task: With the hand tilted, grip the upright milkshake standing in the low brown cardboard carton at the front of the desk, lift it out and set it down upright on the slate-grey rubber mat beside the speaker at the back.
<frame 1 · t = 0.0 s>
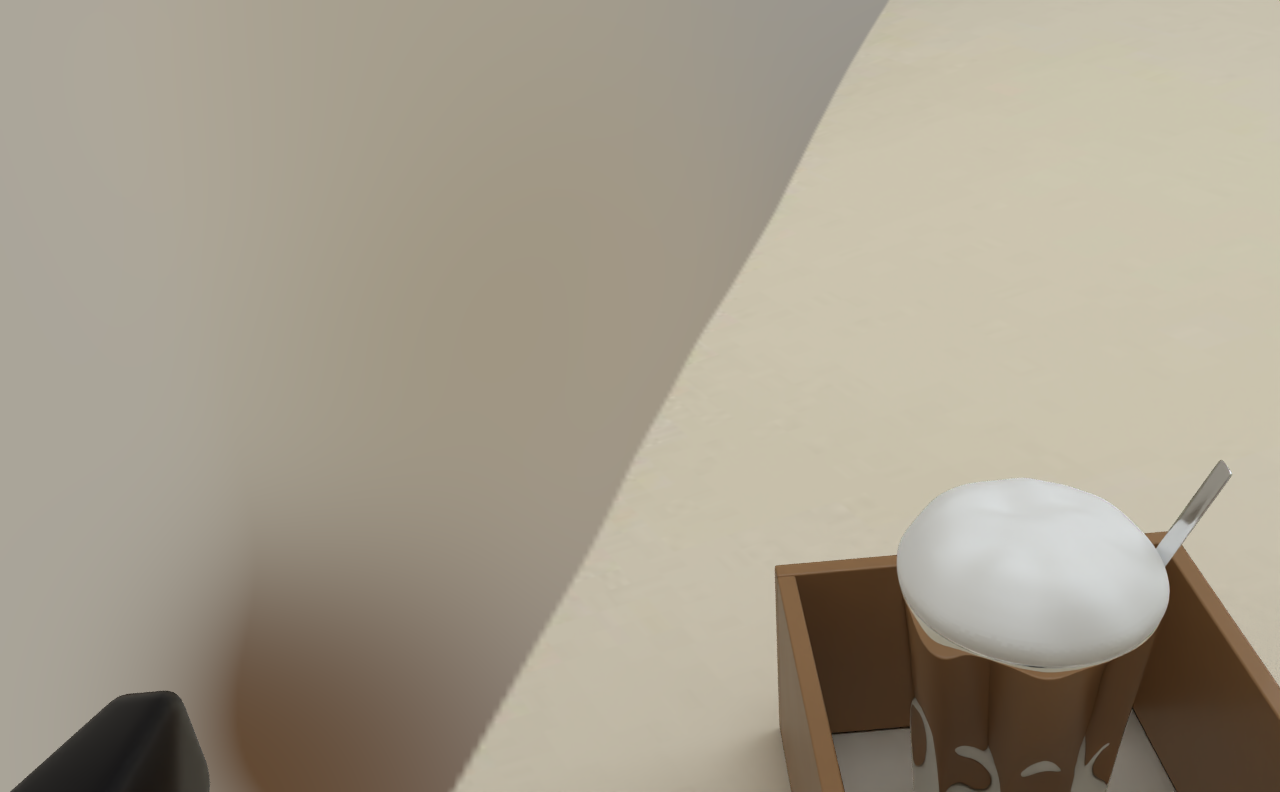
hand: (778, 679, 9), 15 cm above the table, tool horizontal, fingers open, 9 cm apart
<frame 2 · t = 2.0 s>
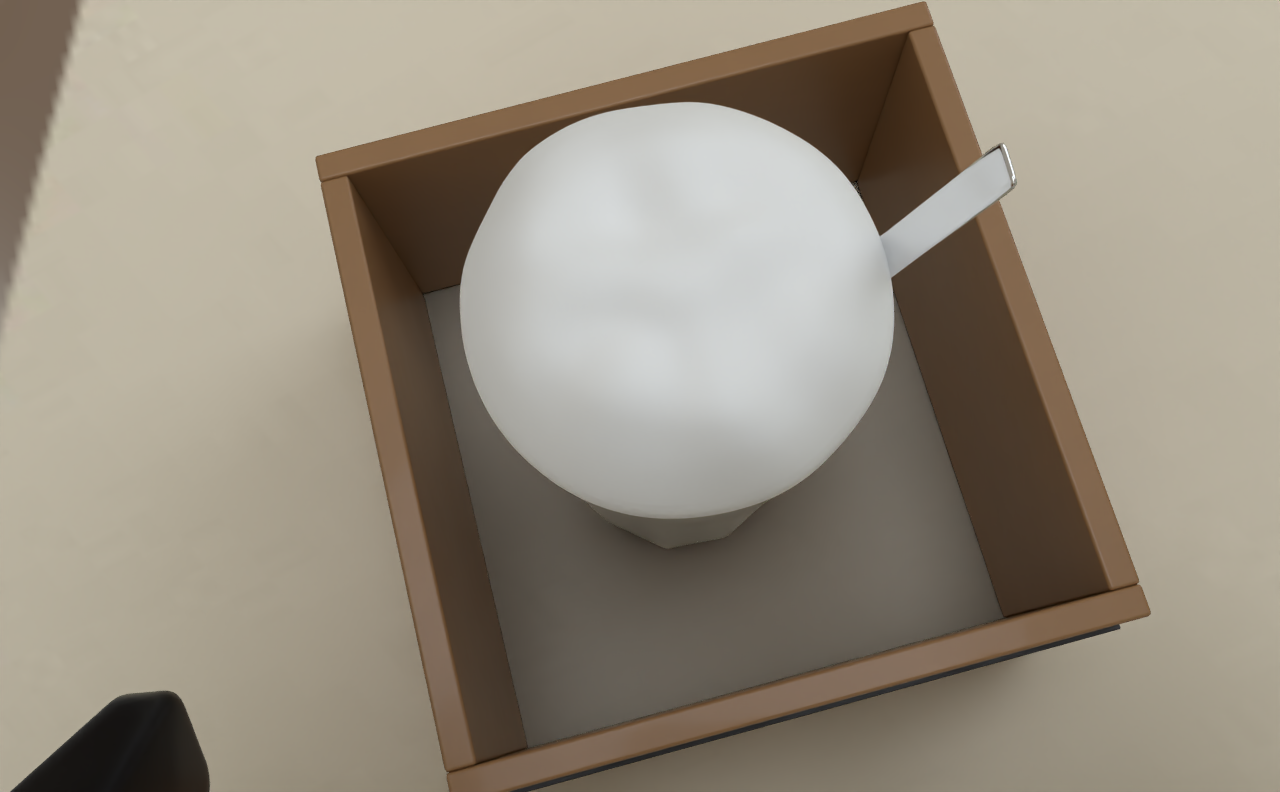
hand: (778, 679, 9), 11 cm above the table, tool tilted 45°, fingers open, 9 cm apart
milkshake: (701, 451, 20), resting in carton
carton: (701, 449, 20), on the table
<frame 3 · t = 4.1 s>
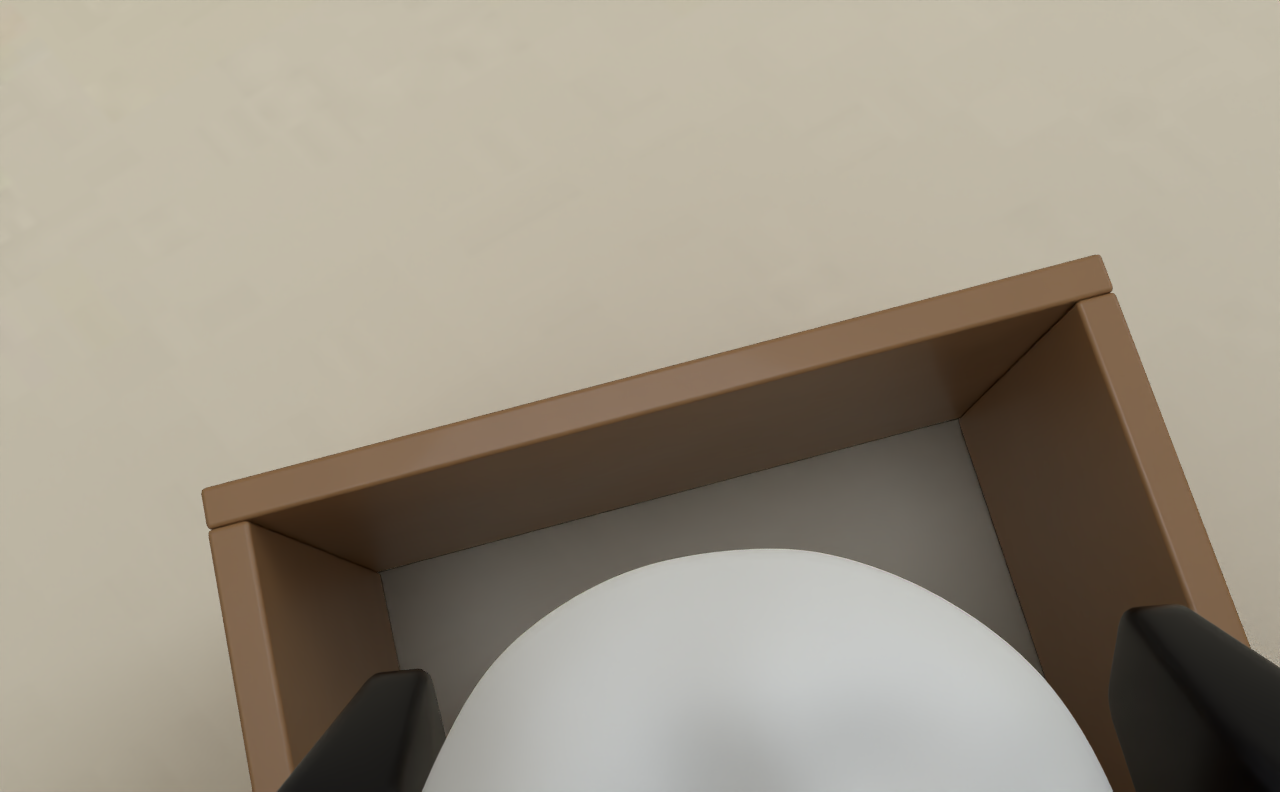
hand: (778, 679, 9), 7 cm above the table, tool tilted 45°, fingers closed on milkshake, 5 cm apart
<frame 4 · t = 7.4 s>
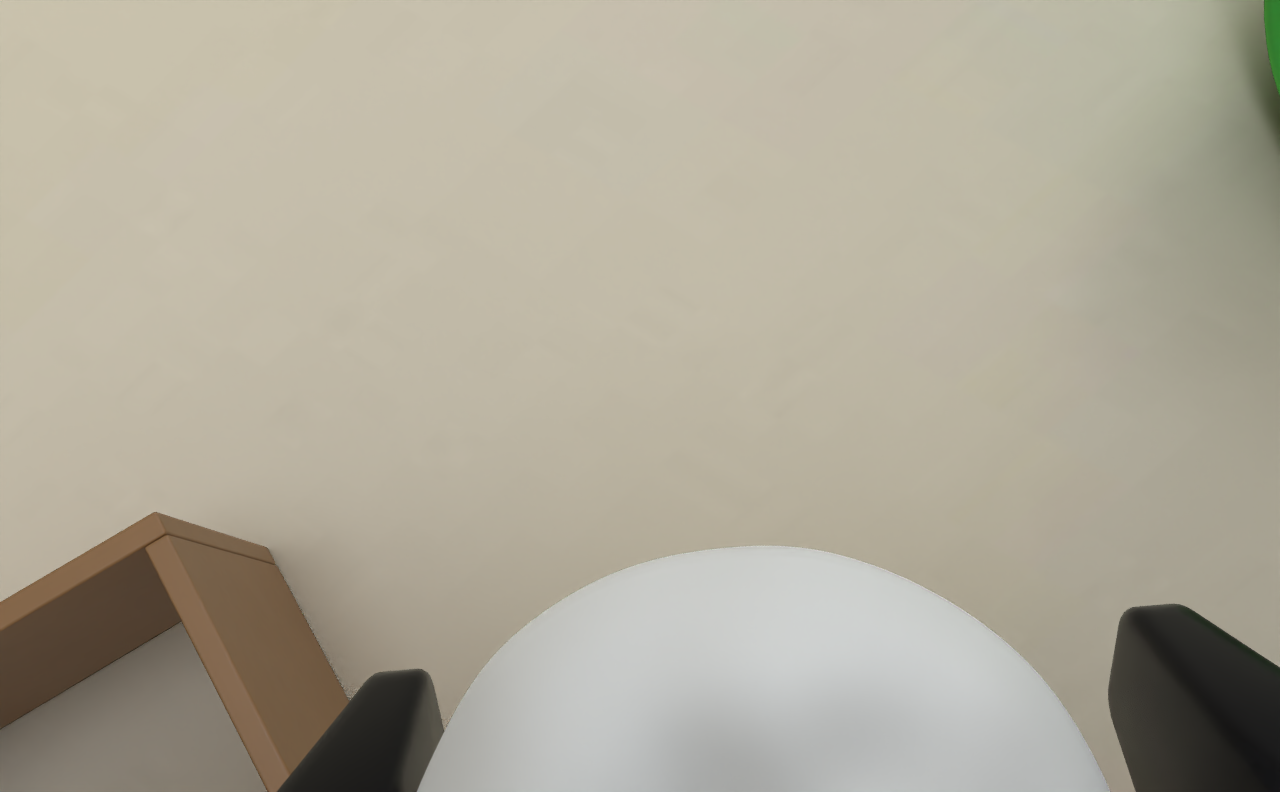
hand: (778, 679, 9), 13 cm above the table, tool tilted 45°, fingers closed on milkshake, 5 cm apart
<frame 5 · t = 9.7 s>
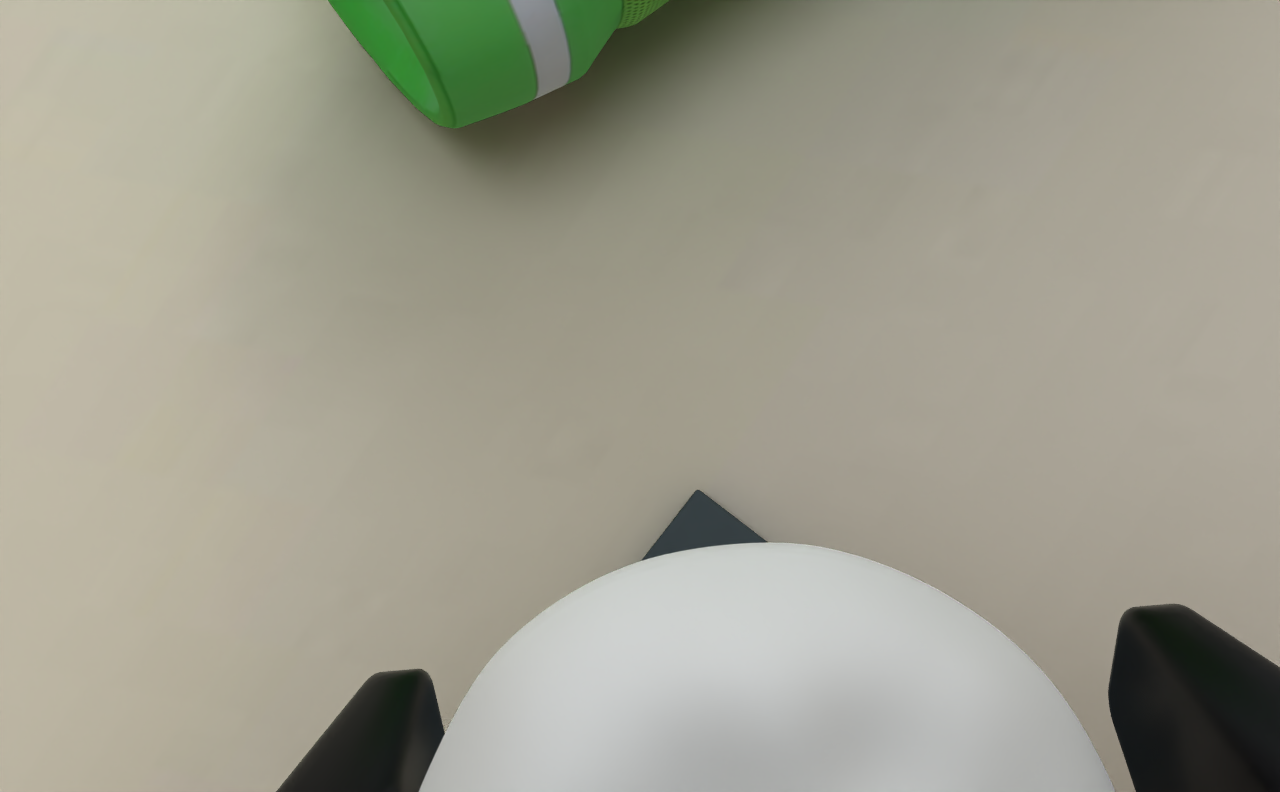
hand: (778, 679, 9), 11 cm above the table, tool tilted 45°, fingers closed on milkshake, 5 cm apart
mat: (732, 755, 19), on the table
when the fingers open (7 cm above the table, at t = 11.2 s): milkshake stays where it is, resting on mat.
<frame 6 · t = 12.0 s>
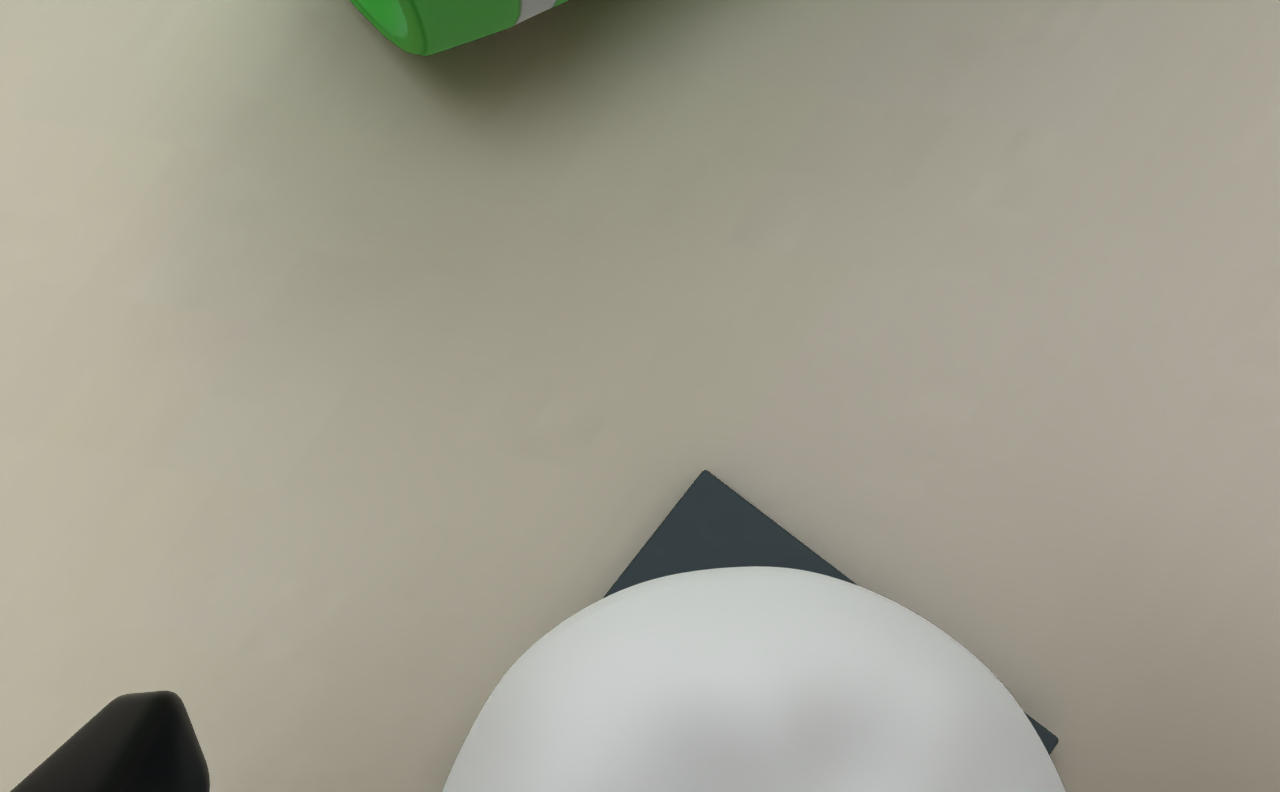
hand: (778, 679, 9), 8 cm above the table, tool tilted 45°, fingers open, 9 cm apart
mat: (744, 775, 16), on the table
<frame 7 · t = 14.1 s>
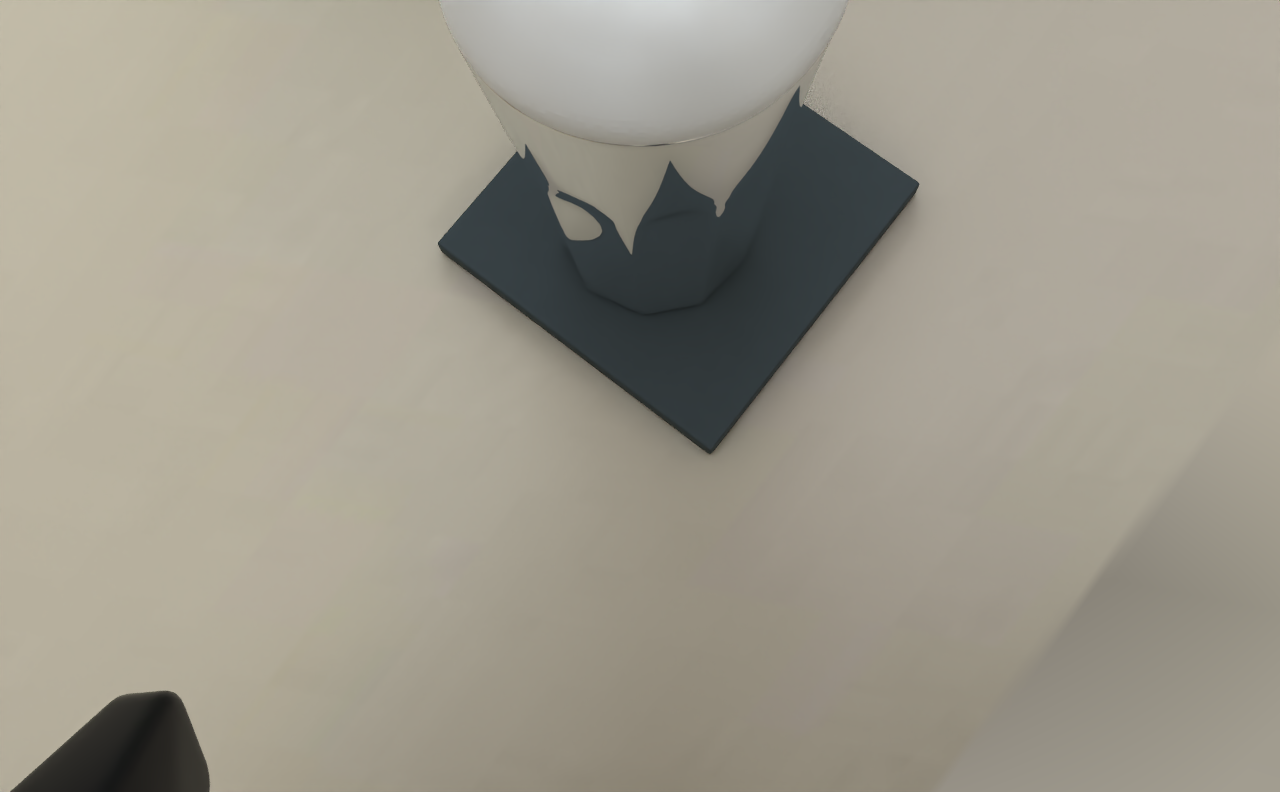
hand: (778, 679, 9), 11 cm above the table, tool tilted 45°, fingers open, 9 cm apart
milkshake: (679, 227, 21), resting on mat
mat: (678, 221, 21), on the table
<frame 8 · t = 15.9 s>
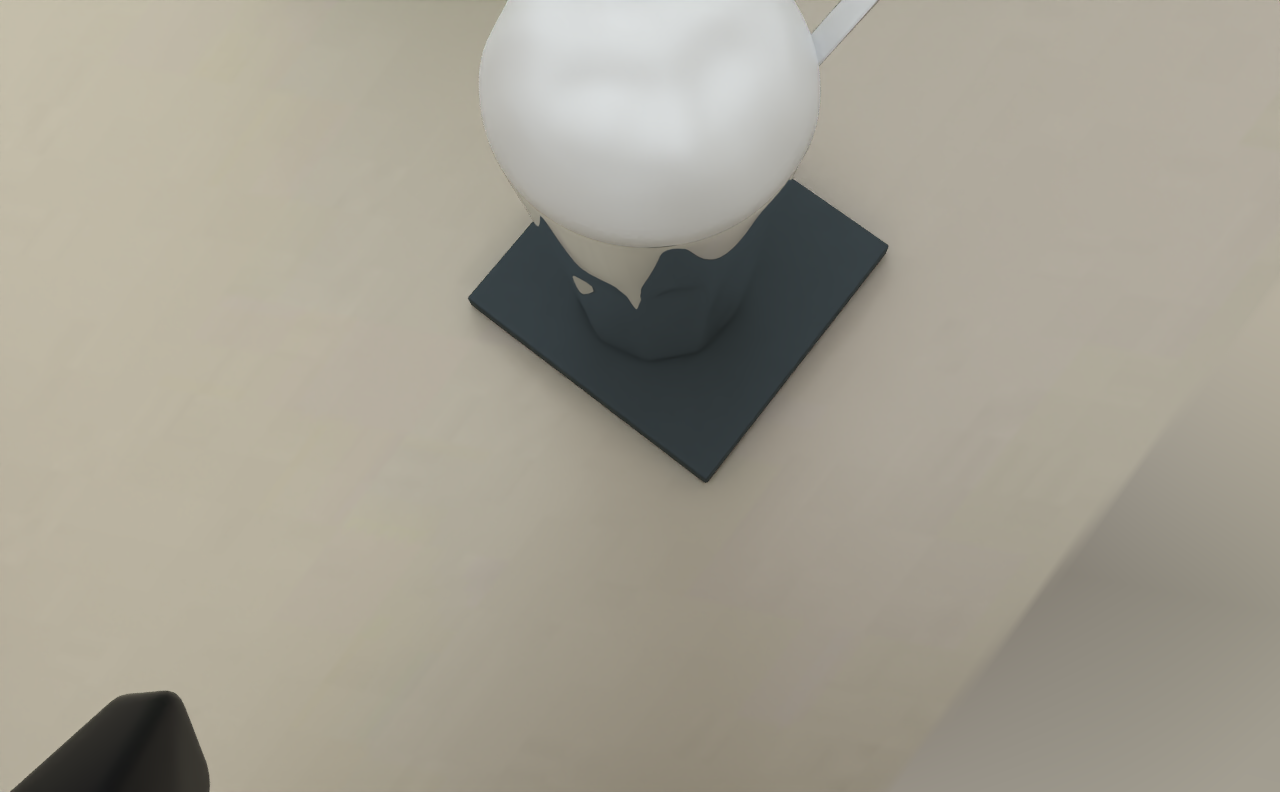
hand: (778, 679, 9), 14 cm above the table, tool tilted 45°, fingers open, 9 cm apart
milkshake: (678, 283, 24), resting on mat
mat: (678, 278, 24), on the table
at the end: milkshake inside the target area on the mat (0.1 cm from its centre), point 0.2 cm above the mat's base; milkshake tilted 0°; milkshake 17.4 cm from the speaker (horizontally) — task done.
